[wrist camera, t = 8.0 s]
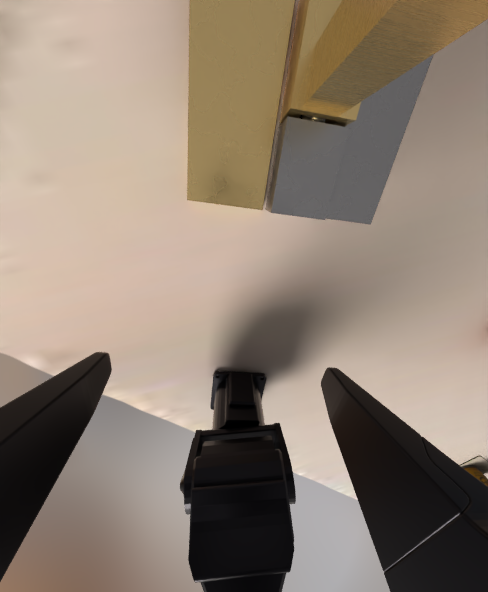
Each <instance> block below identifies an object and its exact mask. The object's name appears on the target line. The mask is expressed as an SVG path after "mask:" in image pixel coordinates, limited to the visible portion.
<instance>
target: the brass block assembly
mask: <svg viewBox="0 0 488 592" xmlns="http://www.w3.org/2000/svg"><path fill="white" fill-rule="evenodd" d="M294 3H295V0H190V20H189V103H188V186H187V200H191V201H199V202H206V203H214V204H221V205H228V206H236V207H243V208H251V209H258V210H263V203H264V197H265V190H266V184H267V177H268V171H269V164H270V158H271V151H272V145H273V138H274V132H275V126H276V119H277V113H278V106H279V100H280V93H281V87H282V80H283V74H284V67H285V61H286V54H287V48H288V41H289V35H290V28H291V22H292V16H293V9H294ZM487 19H488V0H299V3H298V9H297V16H296V22H295V28H294V34H293V41H292V47H291V53H290V59H289V65H288V72H287V78H286V84H285V90H284V97H283V103H282V109H281V115H280V122H279V123H283V121H284V120H285V119H286V118H287V117H294V118H298V117H299V116H300V115H301V114H303V115H308V116H313V117H319V118H324V119H326V122H325V123H326V124H332V125H337V126H342V127H345V126H346V125H348V124H350V123H352V122H354V121H356V118H357V115H358V111H359V108H360V104H361V101H363V100H364V99H366V98H368V97H369V96H371V95H372V94H374V93H375V92H377V91H378V90H380V89H381V88H383V87H384V86H386V85H387V84H389V83H390V82H392V81H393V80H395V79H397V78H398V77H400V76H401V75H403V74H404V73H406V72H407V71H409V70H410V69H412V68H413V67H415V66H416V65H418V64H419V63H421V62H422V61H424V60H426V59H427V58H429V57H430V56H432V55H433V54H435V53H436V52H438V51H439V50H441V49H442V48H444V47H445V46H447V45H448V44H450V43H451V42H453V41H454V40H456V39H458V38H459V37H461V36H462V35H464V34H465V33H467V32H468V31H470V30H471V29H473V28H474V27H476V26H477V25H479V24H480V23H482V22H483V21H485V20H487Z"/></svg>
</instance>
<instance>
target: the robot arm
mask: <svg viewBox="0 0 488 592" xmlns="http://www.w3.org/2000/svg"><path fill="white" fill-rule="evenodd" d="M111 370H112V368H111V362H110V356H109V354H108V353H105V352H96V353H94V354H92V355H90V356H89V357H87V358H85V359H84V360H82V361H80V362H78V363H77V364H75V365H73V366H71V367H70V368H68V369H66V370H64V371H63V372H61V373H59V374H58V375H56V376H54V377H52V378H51V379H49V380H47V381H45V382H44V383H42V384H41V385H39V386H37V387H35V388H33V389H32V390H30V391H28V392H27V393H25V394H23V395H21V396H20V397H18V398H16V399H14V400H13V401H11V402H9V403H7V404H6V405H4V406H2V407H1V408H0V581H1V580H2V578H3V576H4V574H5V572H6V571H7V569H8V567H9V565H10V563H11V562H12V560H13V558H14V556H15V554H16V553H17V551H18V549H19V547H20V545H21V544H22V542H23V540H24V538H25V536H26V534H27V533H28V531H29V529H30V527H31V526H32V524H33V522H34V520H35V518H36V517H37V515H38V513H39V511H40V509H41V508H42V506H43V504H44V502H45V500H46V498H47V497H48V495H49V493H50V491H51V490H52V488H53V486H54V484H55V482H56V481H57V479H58V477H59V475H60V473H61V472H62V470H63V468H64V466H65V464H66V463H67V461H68V459H69V457H70V455H71V453H72V452H73V450H74V448H75V446H76V445H77V443H78V441H79V439H80V437H81V436H82V434H83V432H84V430H85V428H86V427H87V425H88V423H89V421H90V419H91V417H92V415H93V414H94V411H95V409H96V407H97V405H98V402H99V400H100V398H101V395H102V393H103V391H104V388H105V386H106V384H107V381H108V379H109V377H110V374H111ZM217 375H218V376H217ZM262 377H263V378H262ZM265 382H266V375H265V374H262V373H242V372H221V371H216V372H215V373H214V375H213V386H212V397H211V409H213V410H214V415H213V429H212V430H204V431H202V430H196V433H195V437H194V438H193V441H192V445H191V449H190V453H189V457H188V461H187V465H186V469H185V472H184V474H183V477H182V479H181V483H180V490H181V491H182V493H183V494H184V505H185V512H186V514H190V540H189V565H190V568H191V572H192V576H193V579H194V581H195V582H201V585H202V587H203V590H204V592H282V588H283V584H284V579H285V575H286V572H290V569H291V565H292V559H293V552H294V544H293V543H294V534H293V527H292V520H291V512H290V505H289V504H295V501H296V500H295V499H296V498H295V497H296V496H295V485H294V478H293V472H292V466H291V462H290V458H289V454H288V451H287V447H286V444H285V440H284V437H283V434H282V430H281V427H280V423H274V424H272V425H265V424H264V417H263V410H262V404H261V399H262V395H263V390H264V386H265ZM321 387H322V391H323V395H324V399H325V403H326V407H327V411H328V415H329V419H330V422H331V425H332V428H333V431H334V434H335V437H336V439H337V442H338V445H339V448H340V451H341V453H342V456H343V459H344V462H345V465H346V467H347V470H348V473H349V476H350V479H351V481H352V484H353V487H354V490H355V493H356V496H357V498H358V501H359V504H360V507H361V510H362V512H363V515H364V518H365V521H366V524H367V526H368V529H369V532H370V535H371V538H372V540H373V543H374V546H375V549H376V552H377V554H378V557H379V560H380V563H381V566H382V568H383V571H384V575H385V578H386V580H387V583H388V586H389V589H390V592H488V486H487V485H485V484H484V483H483V482H481V481H480V480H478V479H477V478H476V477H474V476H473V475H472V474H470V473H469V472H468V471H466V470H465V469H463V468H462V467H461V466H459V465H458V464H457V463H455V462H454V461H453V460H451V459H450V458H449V457H448V456H446V455H445V454H444V453H442V452H441V451H440V450H439V449H437V448H436V447H435V446H434V445H432V444H431V443H430V442H429V441H427V440H426V439H425V438H424V437H421V435H420V434H419V433H417V432H416V431H415V430H414V429H412V428H411V427H410V426H409V425H407V424H406V423H405V422H404V421H402V420H401V419H400V418H399V417H397V416H396V415H395V414H394V413H392V412H391V411H390V410H389V409H387V408H386V407H385V406H384V405H382V404H381V403H380V402H379V401H377V400H376V399H375V398H374V397H372V396H371V395H370V394H369V393H367V392H366V391H365V390H364V389H363V388H361V387H360V386H359V385H358V384H356V383H355V382H354V381H353V380H351V379H350V378H349V377H348V376H346V375H345V374H344V373H343V372H341V371H340V370H339V369H337V368H327V369H326V371H325V373H324V376H323V378H322V381H321Z"/></svg>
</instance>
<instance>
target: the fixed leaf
mask: <svg viewBox="0 0 488 592" xmlns="http://www.w3.org/2000/svg"><path fill="white" fill-rule="evenodd" d="M432 57H433V55H432V56H430V57H429V58H427V59H426V60H424V61H422V62H421V63H419V64H418V65H416V66H415V67H413V68H412V69H410V70H409V71H407V72H406V73H404V74H403V75H401V76H400V77H398V78H397V79H395V80H393V81H392V82H390V83H389V84H387V85H386V86H384V87H383V88H381V89H380V90H378V91H377V92H375V93H374V94H372V95H371V96H369V97H368V98H366V99H364V100H363V101H361V104H360V108H359V111H358V115H357V118H356V121H354V122H352V123H350V124H348V125H346V126H345V127H342V126H337V125H332V124H326V123H325V122H326V119H324V118H319V117H313V116H308V115H303V116H302V119H299V118H294V117H287V118H286V119H285V120H284V121H283V123H282V124H281V125H280V126H279V128H278V134H277V140H276V147H275V153H274V159H273V165H272V172H271V178H270V184H269V190H268V197H267V203H266V210H267V211H269V212H271V213H277V214H284V215H292V216H300V217H307V218H315V219H322V220H325V218H327V219H335V220H342V221H350V222H357V223H365V224H371V222H372V219H373V216H374V214H375V211H376V208H377V206H378V203H379V200H380V197H381V195H382V192H383V189H384V187H385V184H386V181H387V179H388V176H389V173H390V170H391V168H392V165H393V162H394V160H395V157H396V154H397V151H398V149H399V146H400V143H401V141H402V138H403V135H404V133H405V130H406V127H407V124H408V122H409V119H410V116H411V114H412V111H413V108H414V105H415V103H416V100H417V97H418V95H419V92H420V89H421V86H422V84H423V81H424V78H425V76H426V73H427V70H428V68H429V65H430V62H431V59H432Z"/></svg>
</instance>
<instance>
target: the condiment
mask: <svg viewBox="0 0 488 592" xmlns="http://www.w3.org/2000/svg"><path fill="white" fill-rule="evenodd" d="M474 463H475V464H474ZM460 466H461V467H462V468H463V469H465V470H466V471H468V472H469V473H470V474H472V475H473V476H474V477H476V478H477V479H478V480H480V481H481V482H483V483H484V484H485V485H487V486H488V479H487V478H486V477H485V476H484V473H487V472H488V462H487V461H486V460H485V459H483V458H482V457H480V456H479V457H477V458H475V459H472V460H471V461H470V462H467V463H465V464H462V465H460Z"/></svg>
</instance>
